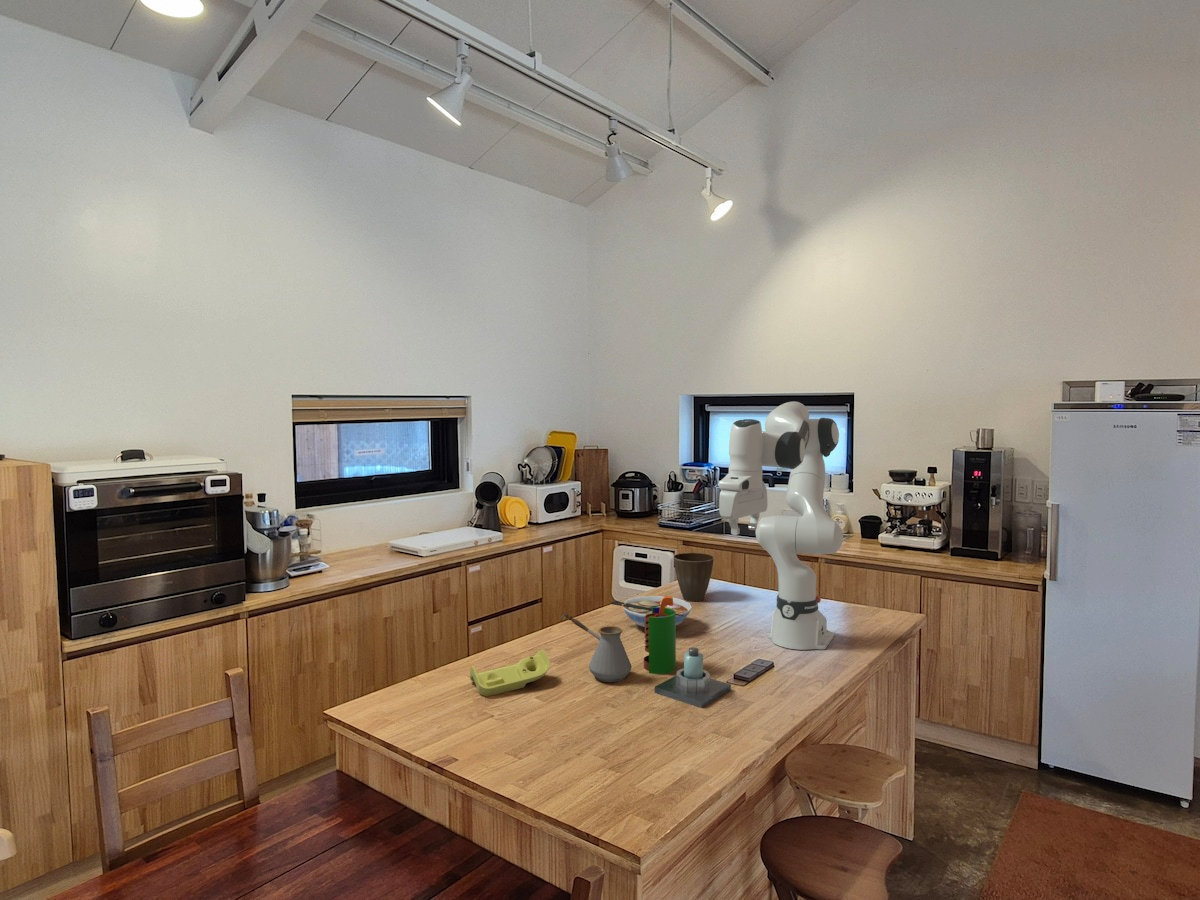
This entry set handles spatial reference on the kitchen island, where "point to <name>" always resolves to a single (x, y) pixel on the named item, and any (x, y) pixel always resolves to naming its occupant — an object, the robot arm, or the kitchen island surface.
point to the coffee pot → (607, 654)
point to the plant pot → (693, 574)
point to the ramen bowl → (644, 604)
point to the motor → (661, 638)
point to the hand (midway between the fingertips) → (744, 532)
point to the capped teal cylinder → (693, 664)
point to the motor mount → (693, 689)
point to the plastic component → (511, 675)
